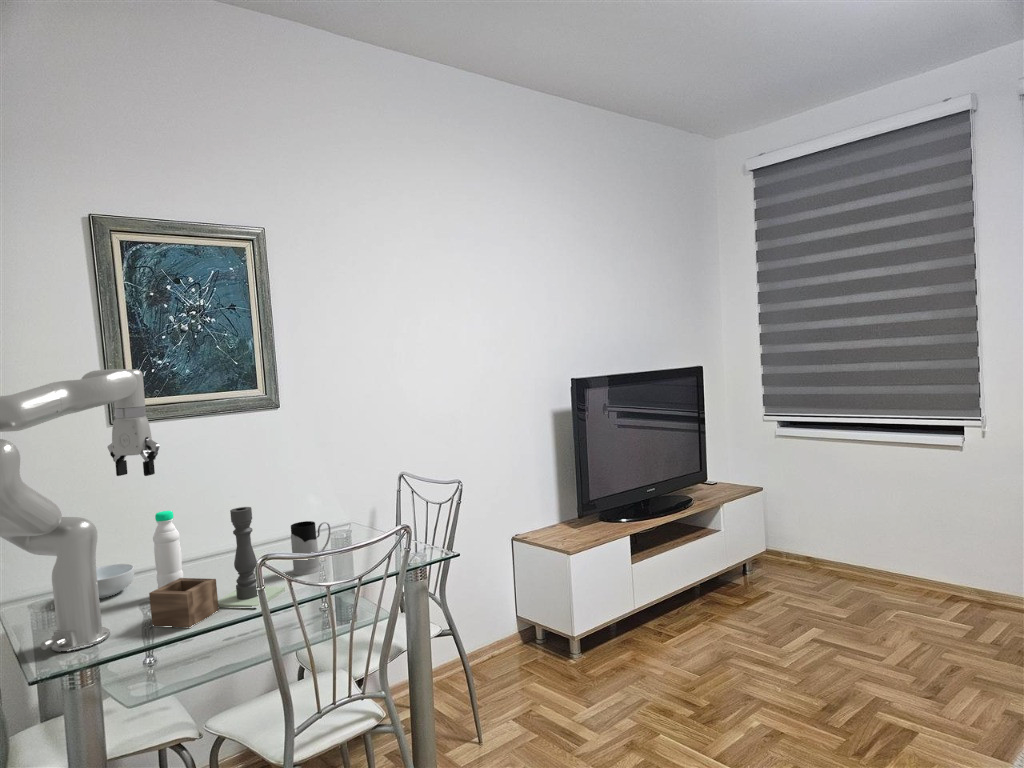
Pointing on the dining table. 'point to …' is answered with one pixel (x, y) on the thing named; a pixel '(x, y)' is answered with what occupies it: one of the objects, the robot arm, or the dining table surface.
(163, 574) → the water bottle
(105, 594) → the cereal bowl
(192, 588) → the walnut sleeve
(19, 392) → the robot arm
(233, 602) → the sage mat
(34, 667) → the dining table surface
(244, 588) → the candle holder
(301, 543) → the gray black mug
